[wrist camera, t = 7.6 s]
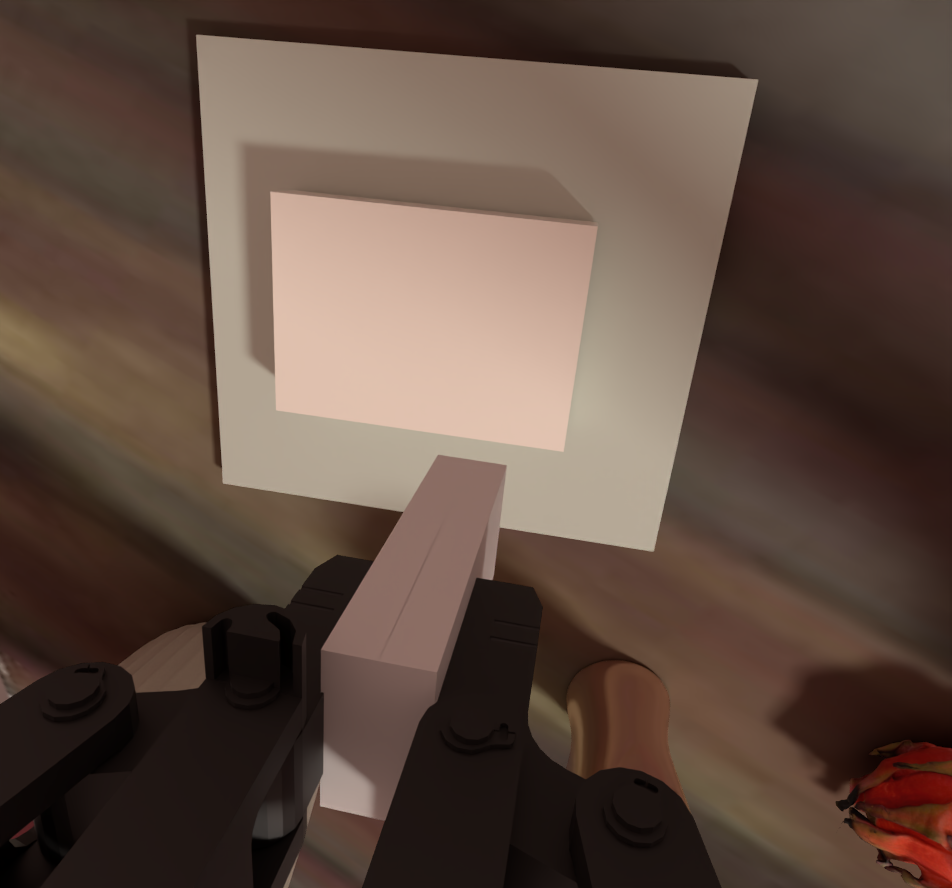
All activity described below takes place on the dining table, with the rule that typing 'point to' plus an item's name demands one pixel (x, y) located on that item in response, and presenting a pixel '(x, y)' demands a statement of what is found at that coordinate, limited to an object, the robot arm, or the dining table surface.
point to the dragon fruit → (907, 810)
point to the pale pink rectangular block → (428, 315)
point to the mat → (491, 189)
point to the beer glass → (620, 722)
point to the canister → (172, 674)
